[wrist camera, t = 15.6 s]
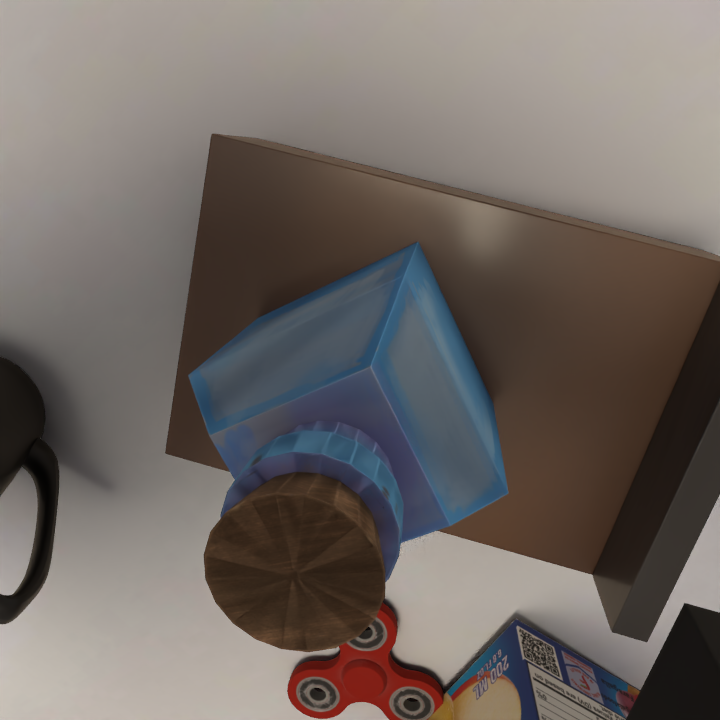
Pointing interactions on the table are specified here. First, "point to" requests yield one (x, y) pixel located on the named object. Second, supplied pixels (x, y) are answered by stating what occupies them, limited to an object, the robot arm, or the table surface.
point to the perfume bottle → (341, 450)
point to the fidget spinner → (365, 678)
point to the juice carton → (535, 684)
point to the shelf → (499, 349)
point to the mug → (25, 448)
